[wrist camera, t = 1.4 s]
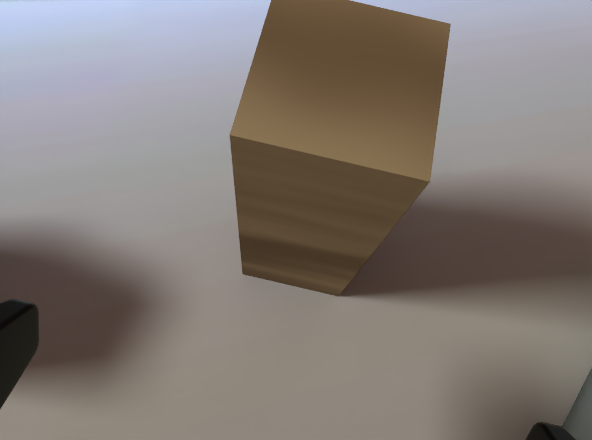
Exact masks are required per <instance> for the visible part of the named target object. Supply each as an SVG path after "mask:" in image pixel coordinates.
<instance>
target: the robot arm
mask: <svg viewBox="0 0 592 440" xmlns="http://www.w3.org/2000/svg"><path fill="white" fill-rule="evenodd" d="M38 342H39V317H38V308H37V306H36V305H35V304H34V303H30V302H26V301H22V300H18V299H11V300H7V301H5V302H2V303H0V409H1V407H2V406H3V404H4V403H5V401H6V399H7V398H8V396H9V394H10V393H11V391H12V390H13V388H14V386H15V385H16V383H17V382H18V380H19V378H20V377H21V375H22V374H23V372H24V370H25V369H26V367H27V365H28V364H29V362H30V361H31V359H32V357H33V356H34V354H35V352H36V350H37V347H38ZM526 440H576V439H575V438H574V437H573V436H572V435H571V434H570V433H568V432H567V431H566V430H565V429H564V428H562V427H560V426H557V425H553V424H549V423H544V422H538V423H536V424H535V425H534V426H533V427H532V429H531V431H530V433H529V434H528V436H527V438H526Z"/></svg>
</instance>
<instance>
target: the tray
mask: <svg viewBox="0 0 592 440" xmlns="http://www.w3.org/2000/svg"><path fill="white" fill-rule="evenodd" d="M562 428H564V429H565V430H566V431H567V432H568V433H570V434H571V435H572V436H573V437H574V438H575V439H576V440H592V369H591V371H590V373H589V375H588V377H587V379H586V381H585V383H584V385H583V387H582V389H581V391H580V393H579V395H578V397H577V399H576V401H575V403H574V405H573V407H572V409H571V411H570V413H569V415H568V417H567V419H566V421H565V423H564V425H563V427H562Z"/></svg>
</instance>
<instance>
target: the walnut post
mask: <svg viewBox="0 0 592 440" xmlns="http://www.w3.org/2000/svg"><path fill="white" fill-rule="evenodd" d="M450 25H451V24H449V23H444V22H440V21H436V20H431V19H427V18H423V17H418V16H414V15H410V14H406V13H401V12H397V11H393V10H388V9H384V8H380V7H376V6H371V5H367V4H363V3H358V2H354V1H350V0H271V3H270V6H269V9H268V13H267V16H266V19H265V22H264V26H263V29H262V32H261V35H260V39H259V42H258V45H257V48H256V52H255V55H254V58H253V61H252V65H251V68H250V71H249V74H248V78H247V81H246V84H245V87H244V91H243V94H242V97H241V100H240V104H239V107H238V110H237V113H236V117H235V120H234V123H233V126H232V130H231V133H230V142H231V153H232V164H233V175H234V186H235V196H236V207H237V218H238V229H239V240H240V250H241V261H242V272H243V274H245V275H249V276H253V277H258V278H262V279H266V280H271V281H275V282H279V283H283V284H288V285H292V286H296V287H301V288H305V289H309V290H313V291H318V292H322V293H326V294H330V295H335V296H339V295H340V294H341V292H342V291H343V290H344V289H345V287H346V286H347V285H348V284H349V282H350V281H351V280H352V279H353V277H354V276H355V275H356V274H357V272H358V271H359V270H360V269H361V267H362V266H363V265H364V264H365V262H366V261H367V260H368V259H369V257H370V256H371V255H372V254H373V252H374V251H375V250H376V249H377V247H378V246H379V245H380V244H381V242H382V241H383V240H384V239H385V237H386V236H387V235H388V234H389V232H390V231H391V230H392V229H393V227H394V226H395V225H396V224H397V222H398V221H399V220H400V219H401V217H402V216H403V215H404V214H405V212H406V211H407V210H408V208H409V207H410V206H411V205H412V203H413V202H414V201H415V200H416V198H417V197H418V196H419V195H420V193H421V192H422V191H423V190H424V188H425V187H426V186H427V185H428V183H429V182H430V177H431V170H432V162H433V154H434V147H435V139H436V131H437V124H438V116H439V109H440V101H441V93H442V86H443V78H444V70H445V63H446V55H447V48H448V40H449V32H450Z"/></svg>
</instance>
